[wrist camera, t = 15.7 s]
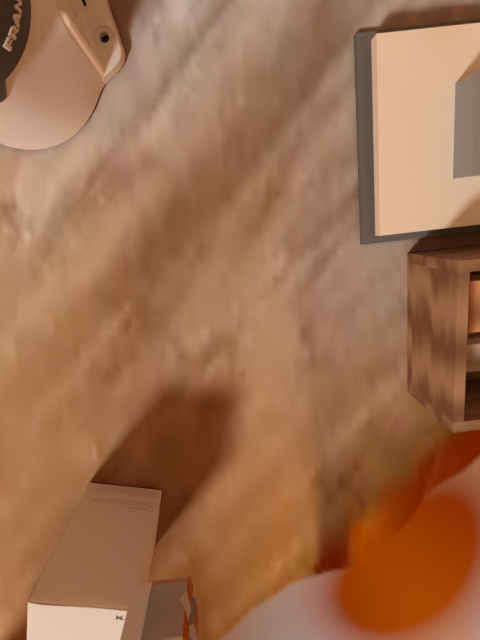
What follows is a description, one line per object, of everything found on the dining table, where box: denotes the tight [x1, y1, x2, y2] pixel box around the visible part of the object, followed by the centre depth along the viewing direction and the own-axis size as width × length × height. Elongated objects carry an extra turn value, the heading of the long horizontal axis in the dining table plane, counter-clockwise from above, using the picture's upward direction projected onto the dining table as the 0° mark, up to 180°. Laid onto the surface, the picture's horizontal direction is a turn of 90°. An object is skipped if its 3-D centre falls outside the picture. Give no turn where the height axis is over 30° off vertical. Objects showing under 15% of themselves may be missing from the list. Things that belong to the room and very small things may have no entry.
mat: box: [354, 20, 480, 245], centre depth 37 cm, size 19×19×1 cm
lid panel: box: [371, 23, 480, 236], centre depth 35 cm, size 17×17×5 cm
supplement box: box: [27, 483, 162, 640], centre depth 40 cm, size 9×9×15 cm
